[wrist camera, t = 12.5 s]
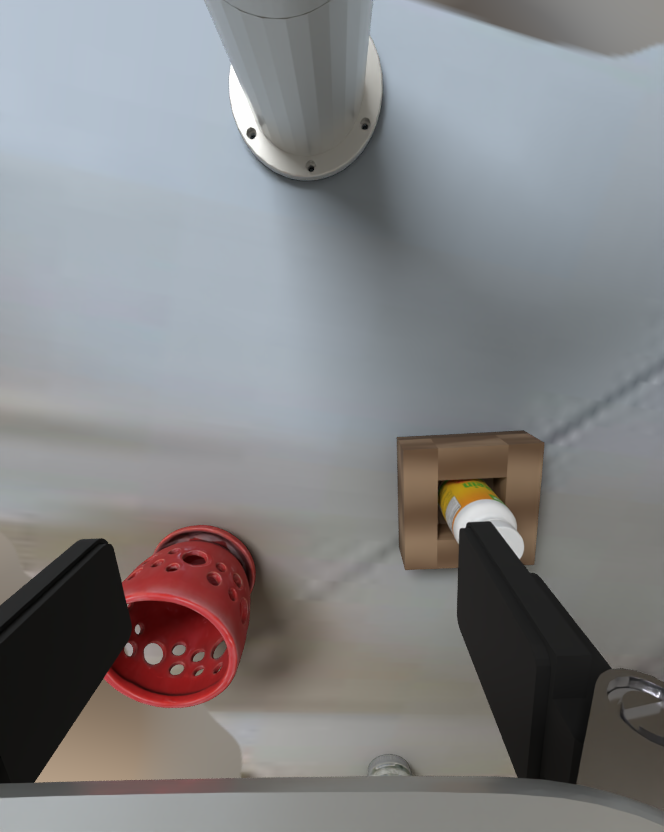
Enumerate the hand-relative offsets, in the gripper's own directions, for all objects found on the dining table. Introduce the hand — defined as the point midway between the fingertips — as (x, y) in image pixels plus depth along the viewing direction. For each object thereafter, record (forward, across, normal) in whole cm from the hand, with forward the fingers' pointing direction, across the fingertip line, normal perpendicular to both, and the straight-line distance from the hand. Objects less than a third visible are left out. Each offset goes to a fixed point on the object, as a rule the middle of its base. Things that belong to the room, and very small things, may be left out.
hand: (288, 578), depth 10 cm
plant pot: (+29, +15, +20) cm, 38 cm away
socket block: (+28, -14, +12) cm, 34 cm away
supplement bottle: (+28, -13, +12) cm, 33 cm away
